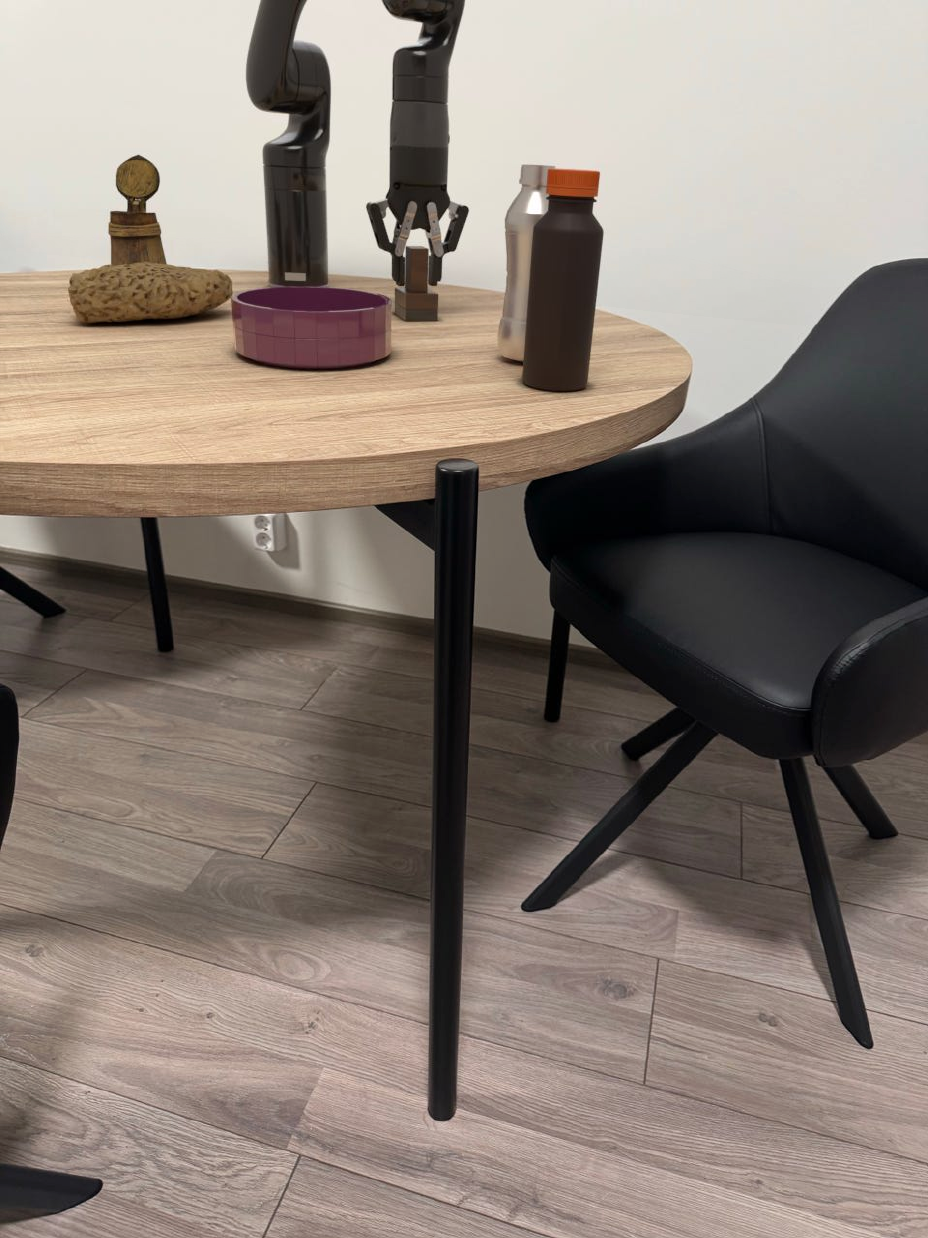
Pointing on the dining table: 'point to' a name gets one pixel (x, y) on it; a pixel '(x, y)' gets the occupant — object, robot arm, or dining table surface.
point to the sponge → (146, 292)
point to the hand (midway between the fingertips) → (416, 284)
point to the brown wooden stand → (136, 215)
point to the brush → (416, 288)
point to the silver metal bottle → (521, 257)
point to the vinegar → (563, 283)
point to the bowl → (311, 326)
